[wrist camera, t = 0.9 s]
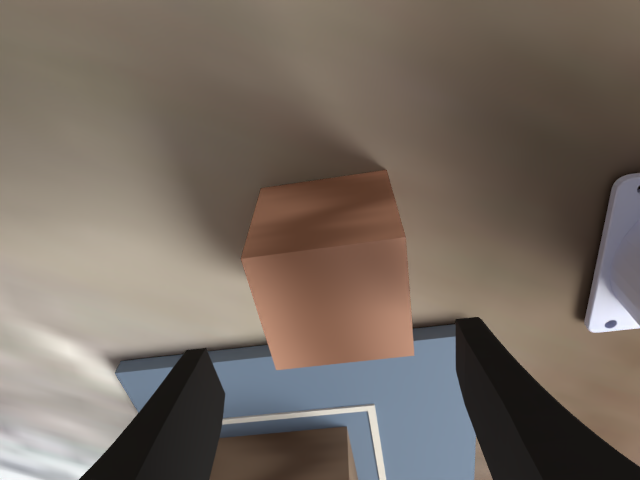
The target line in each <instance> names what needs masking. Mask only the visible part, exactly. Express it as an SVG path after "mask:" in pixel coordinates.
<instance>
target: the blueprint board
mask: <svg viewBox="0 0 640 480" xmlns="http://www.w3.org/2000/svg"><path fill="white" fill-rule="evenodd" d="M413 342H414V356H406V357H397V358H387V359H378V360H368V361H359V362H349V363H340V364H331V365H321V366H312V367H302V368H293V369H283V370H276V368H275V365H274V362H273V359H272V356H271V352H270V349H269V346H268V345H262V346H253V347H244V348H235V349H226V350H217V351H208V354H209V356H210V359H211V361H212V363H213V366H214V368H215V370H216V373H217V375H218V377H219V380H220V382H221V385H222V387H223V389H224V392H225V403H224V413H223V420H222V428H221V433H220V437H219V438H225V437H236V436H247V435H258V434H269V433H280V432H291V431H302V430H313V429H324V428H335V427H347V430H348V434H349V439H350V443H351V448H352V453H353V457H354V462H355V467H356V471H357V476H358V480H474V468H475V441H476V434H475V431H474V428H473V426H472V423H471V420H470V418H469V415H468V412H467V410H466V407H465V404H464V400H463V397H462V393H461V389H460V385H459V381H458V377H457V373H456V324H452V325H443V326H434V327H425V328H416V329H413ZM182 355H183V354H181V355H172V356H163V357H154V358H145V359H136V360H127V361H121V362H120V364H119V366H118V368H117V370H116V372H115V374H116V376H117V378H118V379H119V381H120V383H121V384H122V386H123V388H124V389H125V391H126V393H127V394H128V396H129V398H130V399H131V401H132V403H133V404H134V406H135V408H136V409H137V411H138V413H139V412H140V410H141V409H142V408H143V407H144V405H145V404H146V403H147V401H148V400H149V399H150V398H151V396H152V395H153V394H154V392H155V391H156V390H157V388H158V387H159V386H160V384H161V383H162V382H163V380H164V379H165V378H166V376H167V375H168V374H169V372H170V371H171V370H172V368H173V367H174V366H175V364H176V363H177V362H178V360H179V359H180V358H181V357H182Z"/></svg>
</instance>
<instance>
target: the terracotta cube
mask: <svg viewBox="0 0 640 480" xmlns="http://www.w3.org/2000/svg"><path fill="white" fill-rule="evenodd" d="M241 261H242V264H243V267H244V271H245V274H246V277H247V280H248V283H249V286H250V289H251V293H252V296H253V299H254V302H255V305H256V308H257V311H258V315H259V318H260V321H261V324H262V327H263V330H264V333H265V337H266V340H267V343H268V346H269V349H270V352H271V356H272V359H273V362H274V365H275V368H276V370H283V369H293V368H302V367H312V366H321V365H331V364H340V363H349V362H359V361H368V360H378V359H387V358H397V357H406V356H414V342H413V329H412V315H411V302H410V288H409V275H408V261H407V247H406V236H405V233H404V229H403V226H402V222H401V219H400V215H399V212H398V208H397V205H396V201H395V198H394V194H393V191H392V187H391V184H390V180H389V177H388V173H387V170H382V171H375V172H368V173H361V174H354V175H348V176H341V177H334V178H327V179H320V180H313V181H307V182H300V183H293V184H286V185H279V186H273V187H266V188H261V189H260V193H259V196H258V200H257V204H256V207H255V211H254V214H253V218H252V221H251V225H250V228H249V232H248V235H247V239H246V242H245V246H244V249H243V253H242V256H241Z"/></svg>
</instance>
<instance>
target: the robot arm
mask: <svg viewBox="0 0 640 480" xmlns="http://www.w3.org/2000/svg"><path fill="white" fill-rule="evenodd" d="M639 186H640V173H635V174H628V175H625V176H622V177H620V178H619V179H617V180H616V182H615V183H614V184H613V187H612V190H611V195H610V199H609V204H608V209H607V214H606V219H605V224H604V229H603V234H602V238H601V243H600V248H599V253H598V258H597V263H596V268H595V272H594V277H593V282H592V287H591V292H590V297H589V302H588V307H587V311H586V316H585V321H584V322H585V326H586V327H587V328H588V330H589V331H591V332H596V333H598V332H608V331H617V330H627V329H636V328H640V189H639V190H637V189H638V187H639ZM608 321H609V322H608ZM456 373H457V377H458V381H459V385H460V389H461V393H462V397H463V400H464V404H465V407H466V410H467V412H468V415H469V418H470V420H471V423H472V426H473V428H474V431H475V434H476V436H477V439H478V441H479V444H480V447H481V449H482V452H483V455H484V457H485V460H486V462H487V465H488V468H489V470H490V473H491V476H492V478H493V480H640V467H639V466H638V465H636V464H635V463H633V462H632V461H631V460H629V459H628V458H626V457H625V456H624V455H622V454H621V453H619V452H618V451H617V450H615V449H614V448H613V447H612V446H610V445H609V444H608V443H607V442H605V441H604V440H603V439H601V438H600V437H599V436H598V435H596V434H595V433H594V432H593V431H591V430H590V429H589V428H588V427H587V426H585V425H584V424H583V423H582V422H580V421H579V420H578V419H577V418H576V417H575V416H573V415H572V414H571V413H570V412H569V411H568V410H567V409H565V408H564V407H563V406H562V405H561V404H560V403H559V402H558V401H557V400H556V399H555V398H554V397H552V396H551V395H550V394H549V393H548V392H547V391H546V390H545V389H544V388H543V387H542V386H541V385H540V384H539V383H538V382H537V381H536V380H535V379H534V378H533V377H532V376H531V375H530V374H529V373H528V372H527V371H526V370H525V369H524V368H523V367H522V366H521V365H520V364H519V363H518V362H517V360H516V359H515V358H514V357H513V356H512V355H511V354H510V353H509V352H508V351H507V349H506V348H505V347H504V346H503V345H502V344H501V343H500V341H499V340H498V339H497V338H496V337H495V336H494V334H493V333H492V332H491V331H490V329H489V328H488V327H487V326H486V324H485V323H484V322H483V321H482V319H480V318H479V317H473V318H464V319H456ZM224 403H225V392H224V389H223V387H222V385H221V382H220V380H219V377H218V375H217V373H216V370H215V368H214V366H213V363H212V361H211V359H210V356H209V354H208V352H207V349H206V348H203V349H194V350H186V351H185V353H184V354H183V355H182V357H181V358H180V359H179V360H178V362H177V363H176V364H175V366H174V367H173V368H172V370H171V371H170V372H169V374H168V375H167V376H166V378H165V379H164V380H163V382H162V383H161V384H160V386H159V387H158V388H157V390H156V391H155V392H154V394H153V395H152V396H151V398H150V399H149V400H148V401H147V403H146V404H145V405H144V407H143V408H142V409H141V410H140V412H139V413H138V414H137V416H136V417H135V418H134V419H133V420H132V422H131V423H130V424H129V425H128V426H127V428H126V429H125V430H124V431H123V432H122V433H121V435H120V436H119V437H118V438H117V439H116V441H115V442H114V443H113V444H112V445H111V446H110V447H109V449H108V450H107V451H106V452H105V453H104V454H103V455H102V456H101V457H100V458H99V459H98V461H97V462H96V463H95V464H94V465H93V466H92V467H91V468H90V469H89V470H88V471H87V472H86V473H85V474H84V475H83V476H82V477H81V478H80V479H79V480H209V479H210V475H211V471H212V466H213V462H214V458H215V454H216V450H217V446H218V441H219V437H220V433H221V428H222V420H223V413H224Z"/></svg>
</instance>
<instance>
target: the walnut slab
mask: <svg viewBox="0 0 640 480" xmlns="http://www.w3.org/2000/svg"><path fill="white" fill-rule="evenodd" d="M209 480H358V476H357V471H356V467H355V462H354V457H353V453H352V448H351V443H350V439H349V434H348V430H347V427H335V428H324V429H313V430H302V431H291V432H280V433H269V434H258V435H247V436H236V437H225V438H219V441H218V446H217V450H216V454H215V458H214V462H213V466H212V471H211V475H210V479H209Z"/></svg>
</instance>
